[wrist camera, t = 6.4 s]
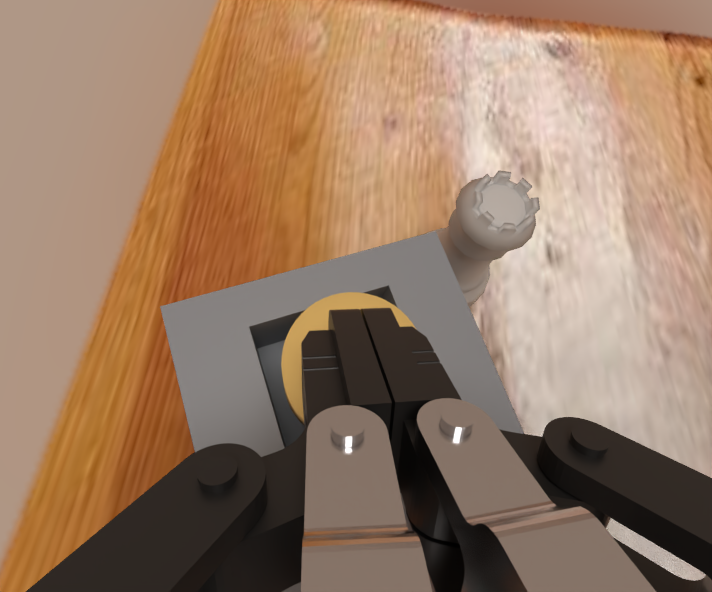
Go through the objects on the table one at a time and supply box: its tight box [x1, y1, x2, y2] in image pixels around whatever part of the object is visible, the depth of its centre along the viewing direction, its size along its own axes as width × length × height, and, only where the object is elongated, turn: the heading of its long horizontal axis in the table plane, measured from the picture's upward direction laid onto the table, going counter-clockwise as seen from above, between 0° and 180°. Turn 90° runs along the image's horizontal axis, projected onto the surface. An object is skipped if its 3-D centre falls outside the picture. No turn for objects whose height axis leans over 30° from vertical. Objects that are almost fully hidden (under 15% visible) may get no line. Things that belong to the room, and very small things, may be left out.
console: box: [161, 231, 524, 592], centre depth 16 cm, size 10×18×7 cm, turn 20°
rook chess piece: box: [426, 171, 540, 307], centre depth 20 cm, size 4×4×8 cm
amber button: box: [281, 292, 417, 425], centre depth 14 cm, size 4×4×4 cm
